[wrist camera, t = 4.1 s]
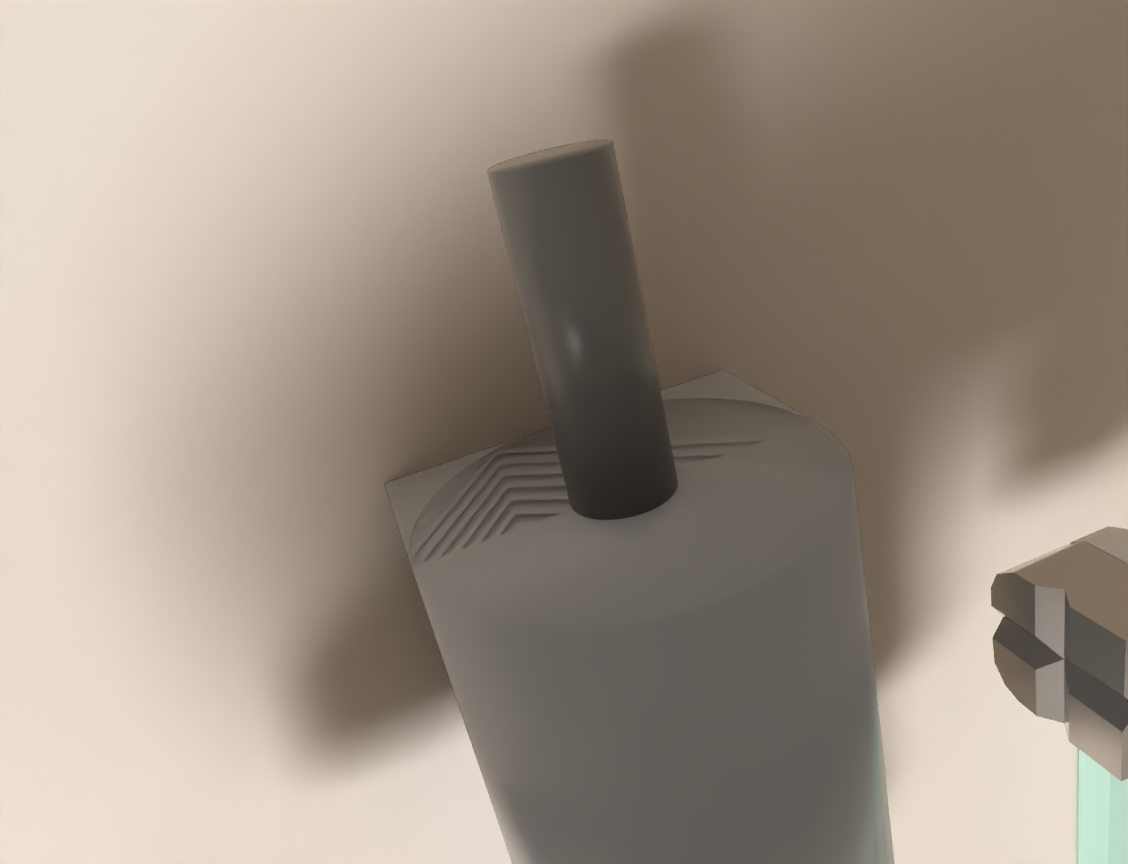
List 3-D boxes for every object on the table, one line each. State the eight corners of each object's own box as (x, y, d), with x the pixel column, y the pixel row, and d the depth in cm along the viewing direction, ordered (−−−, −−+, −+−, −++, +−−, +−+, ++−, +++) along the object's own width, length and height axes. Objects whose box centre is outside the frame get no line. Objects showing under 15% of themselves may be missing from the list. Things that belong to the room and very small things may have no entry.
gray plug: (288, 200, 8) (308, 267, 5) (677, 96, 9) (940, 89, 6) (556, 994, 13) (671, 1335, 9) (802, 878, 14) (994, 1151, 10)
